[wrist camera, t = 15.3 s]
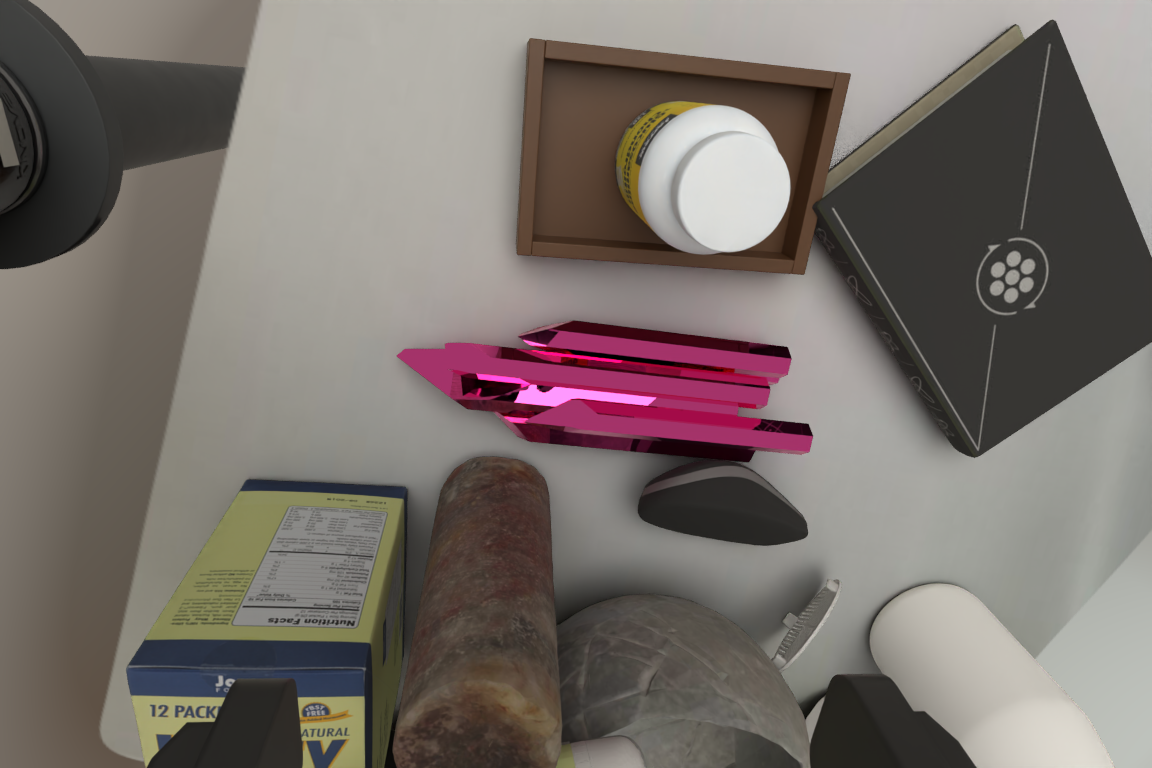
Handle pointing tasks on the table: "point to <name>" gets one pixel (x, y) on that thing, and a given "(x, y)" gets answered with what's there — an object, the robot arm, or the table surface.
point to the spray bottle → (602, 753)
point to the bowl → (676, 686)
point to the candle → (485, 628)
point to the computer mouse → (721, 505)
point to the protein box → (288, 619)
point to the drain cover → (806, 625)
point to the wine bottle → (980, 682)
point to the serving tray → (609, 105)
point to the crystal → (622, 390)
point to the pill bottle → (703, 176)
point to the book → (993, 241)
